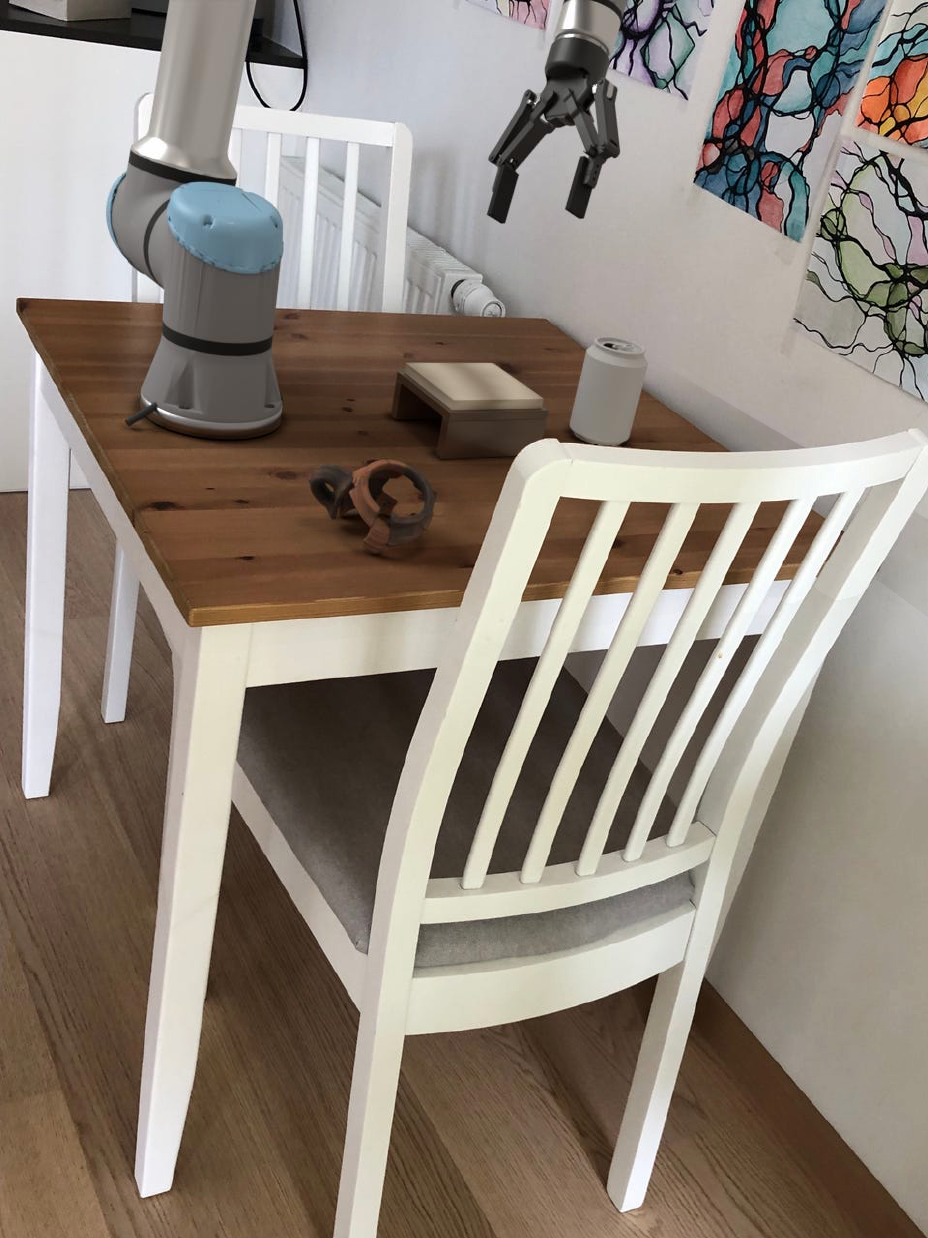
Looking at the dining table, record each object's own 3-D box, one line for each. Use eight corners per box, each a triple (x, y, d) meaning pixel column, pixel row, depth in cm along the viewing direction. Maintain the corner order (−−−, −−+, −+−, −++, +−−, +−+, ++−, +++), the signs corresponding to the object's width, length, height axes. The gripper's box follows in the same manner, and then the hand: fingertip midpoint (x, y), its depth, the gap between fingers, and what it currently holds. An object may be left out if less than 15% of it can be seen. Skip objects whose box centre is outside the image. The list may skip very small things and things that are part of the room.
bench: (441, 459, 137) (451, 402, 134) (390, 415, 146) (398, 360, 143) (539, 455, 143) (551, 400, 140) (484, 413, 153) (494, 360, 149)
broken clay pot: (418, 518, 123) (450, 469, 117) (401, 593, 118) (434, 546, 111) (304, 473, 120) (331, 421, 114) (282, 548, 115) (309, 497, 108)
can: (570, 421, 156) (591, 328, 150) (629, 434, 155) (652, 341, 150) (565, 440, 149) (587, 344, 143) (626, 454, 149) (650, 358, 143)
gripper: (679, 51, 145) (629, 225, 145) (529, 78, 163) (485, 232, 163) (641, 17, 140) (590, 197, 140) (491, 48, 158) (445, 208, 158)
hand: (533, 216), depth 152 cm, fingers open, 13 cm apart
